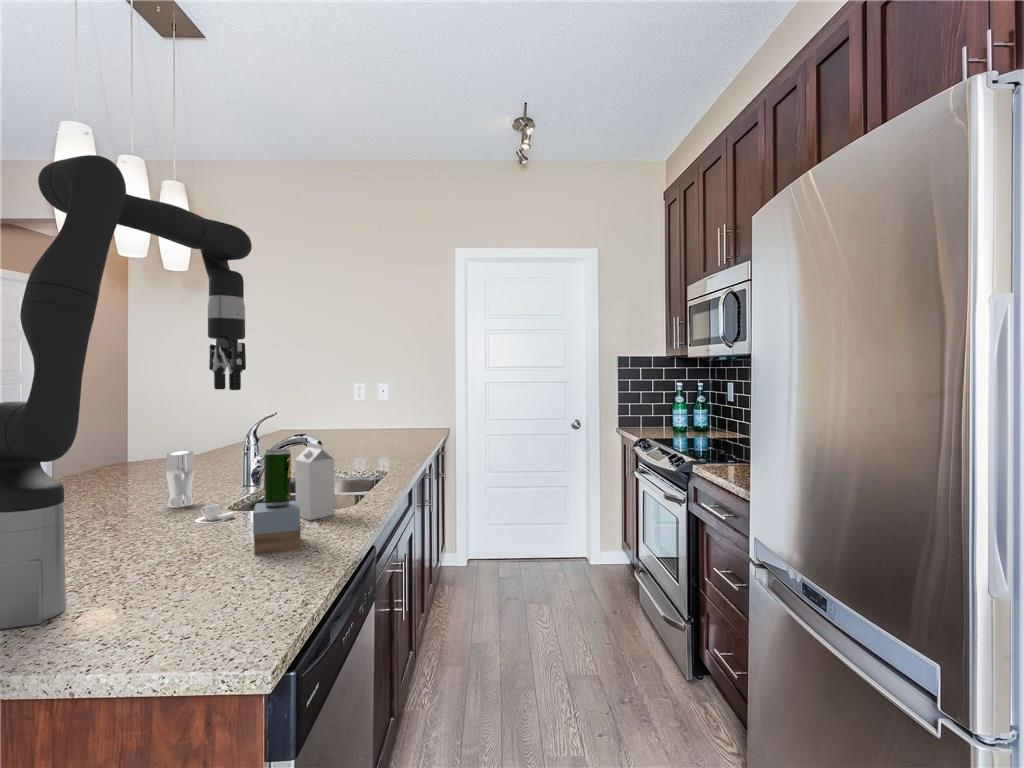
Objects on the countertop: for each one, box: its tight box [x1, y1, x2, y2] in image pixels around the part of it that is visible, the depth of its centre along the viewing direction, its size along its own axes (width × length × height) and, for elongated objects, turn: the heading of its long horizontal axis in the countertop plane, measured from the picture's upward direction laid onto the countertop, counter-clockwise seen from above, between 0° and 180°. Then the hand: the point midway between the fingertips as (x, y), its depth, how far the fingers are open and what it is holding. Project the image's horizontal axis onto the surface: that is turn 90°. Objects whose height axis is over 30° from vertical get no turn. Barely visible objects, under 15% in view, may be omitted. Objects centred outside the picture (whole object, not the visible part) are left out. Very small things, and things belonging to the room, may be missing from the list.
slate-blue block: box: [252, 499, 301, 535], centre depth 122 cm, size 9×9×4 cm
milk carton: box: [295, 442, 335, 521], centre depth 147 cm, size 7×7×19 cm
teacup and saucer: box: [194, 503, 235, 525], centre depth 144 cm, size 9×8×4 cm
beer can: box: [263, 448, 292, 506], centre depth 122 cm, size 5×5×12 cm
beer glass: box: [165, 450, 195, 509], centre depth 159 cm, size 7×7×15 cm
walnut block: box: [253, 529, 302, 556], centre depth 122 cm, size 9×9×4 cm
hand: (227, 389), depth 126 cm, fingers open, 8 cm apart
